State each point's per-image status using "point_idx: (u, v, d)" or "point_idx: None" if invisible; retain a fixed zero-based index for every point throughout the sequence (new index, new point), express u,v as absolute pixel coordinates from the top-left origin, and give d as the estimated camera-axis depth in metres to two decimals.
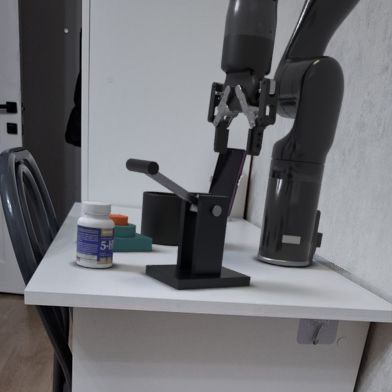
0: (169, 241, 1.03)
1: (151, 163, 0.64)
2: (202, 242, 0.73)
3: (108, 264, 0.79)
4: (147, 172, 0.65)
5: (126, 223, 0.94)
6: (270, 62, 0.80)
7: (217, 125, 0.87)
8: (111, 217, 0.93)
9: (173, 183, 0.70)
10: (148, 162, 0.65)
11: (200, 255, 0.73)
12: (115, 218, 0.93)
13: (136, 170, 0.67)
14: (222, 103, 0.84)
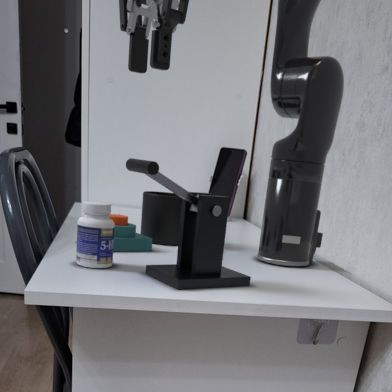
0: (169, 241, 1.03)
1: (151, 163, 0.64)
2: (202, 242, 0.73)
3: (108, 264, 0.79)
4: (147, 172, 0.65)
5: (126, 223, 0.94)
6: None
7: (131, 33, 0.64)
8: (111, 217, 0.93)
9: (173, 183, 0.70)
10: (148, 162, 0.65)
11: (200, 255, 0.73)
12: (115, 218, 0.93)
13: (136, 170, 0.67)
14: None
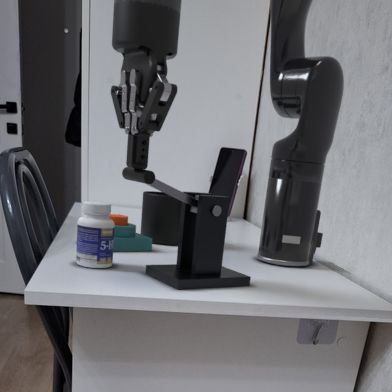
0: (169, 241, 1.03)
1: (146, 173, 0.65)
2: (202, 242, 0.73)
3: (108, 264, 0.79)
4: (144, 182, 0.65)
5: (126, 223, 0.94)
6: (174, 39, 0.61)
7: (129, 132, 0.65)
8: (111, 217, 0.93)
9: (171, 188, 0.70)
10: (144, 172, 0.65)
11: (200, 255, 0.73)
12: (115, 218, 0.93)
13: (133, 179, 0.67)
14: (124, 97, 0.64)
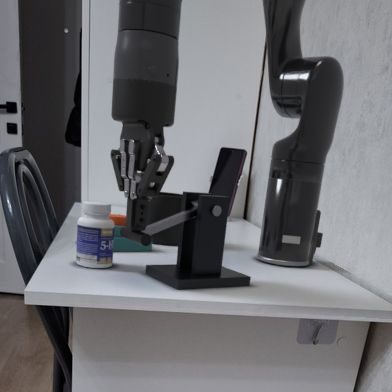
0: (169, 241, 1.03)
1: (141, 239, 0.67)
2: (202, 242, 0.73)
3: (108, 264, 0.79)
4: (144, 245, 0.68)
5: None
6: (171, 111, 0.64)
7: (129, 196, 0.68)
8: (111, 217, 0.93)
9: (167, 221, 0.71)
10: (139, 238, 0.67)
11: (200, 255, 0.73)
12: (115, 218, 0.93)
13: None
14: (123, 163, 0.67)
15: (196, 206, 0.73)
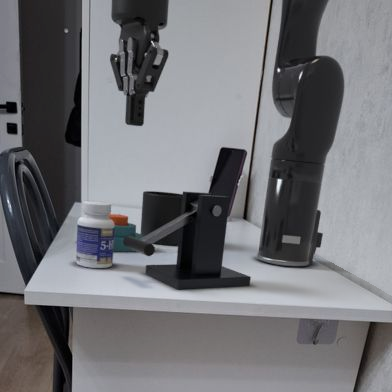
0: (169, 241, 1.03)
1: (145, 249, 0.68)
2: (202, 242, 0.73)
3: (108, 264, 0.79)
4: None
5: (126, 223, 0.94)
6: (164, 11, 0.72)
7: (127, 93, 0.76)
8: (111, 217, 0.93)
9: (169, 227, 0.71)
10: (142, 249, 0.68)
11: (200, 255, 0.73)
12: (115, 218, 0.93)
13: None
14: (122, 62, 0.75)
15: (196, 207, 0.73)
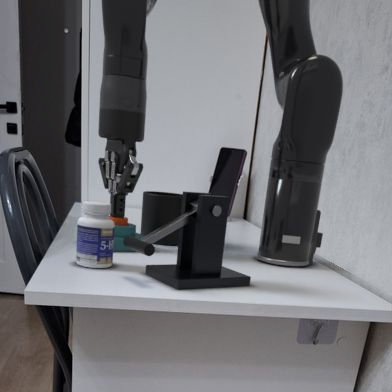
0: (169, 241, 1.03)
1: (145, 249, 0.68)
2: (202, 242, 0.73)
3: (108, 264, 0.79)
4: None
5: (126, 224, 0.94)
6: (141, 131, 0.88)
7: (111, 192, 0.93)
8: (111, 218, 0.93)
9: (169, 227, 0.71)
10: (142, 249, 0.68)
11: (200, 255, 0.73)
12: (115, 219, 0.93)
13: None
14: (107, 168, 0.92)
15: (196, 207, 0.73)
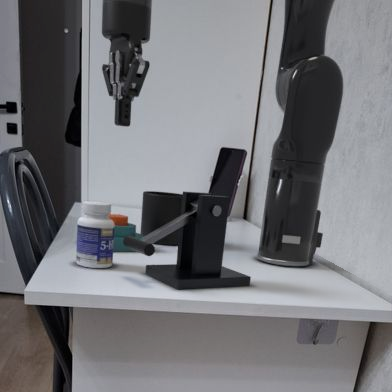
0: (169, 241, 1.03)
1: (145, 249, 0.68)
2: (202, 242, 0.73)
3: (108, 264, 0.79)
4: None
5: (126, 223, 0.94)
6: (147, 28, 0.84)
7: (116, 98, 0.88)
8: (111, 217, 0.93)
9: (169, 227, 0.71)
10: (142, 249, 0.68)
11: (200, 255, 0.73)
12: (115, 218, 0.93)
13: None
14: (111, 72, 0.87)
15: (196, 207, 0.73)
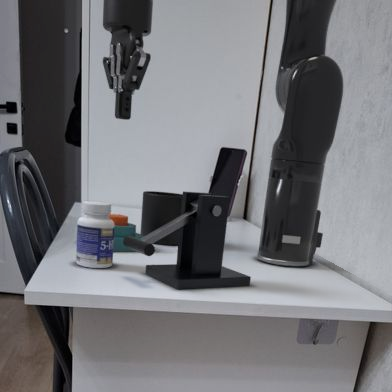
0: (169, 241, 1.03)
1: (145, 249, 0.68)
2: (202, 242, 0.73)
3: (108, 264, 0.79)
4: None
5: (126, 223, 0.94)
6: (148, 20, 0.83)
7: (117, 91, 0.88)
8: (111, 217, 0.93)
9: (169, 227, 0.71)
10: (142, 249, 0.68)
11: (200, 255, 0.73)
12: (115, 218, 0.93)
13: None
14: (112, 64, 0.86)
15: (196, 207, 0.73)
